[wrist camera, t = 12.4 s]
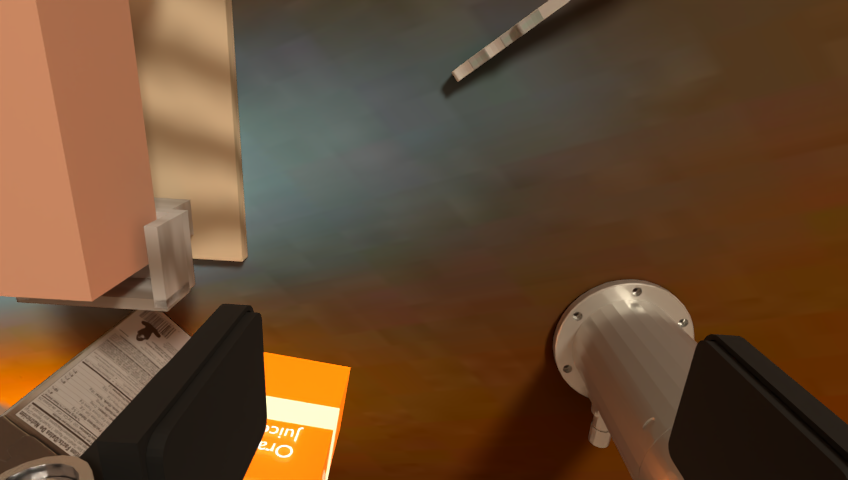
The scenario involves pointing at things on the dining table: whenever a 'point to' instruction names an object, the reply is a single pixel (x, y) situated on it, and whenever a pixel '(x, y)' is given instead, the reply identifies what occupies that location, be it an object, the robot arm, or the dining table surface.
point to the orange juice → (299, 419)
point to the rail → (70, 150)
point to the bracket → (508, 37)
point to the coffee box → (88, 390)
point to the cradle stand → (184, 149)
